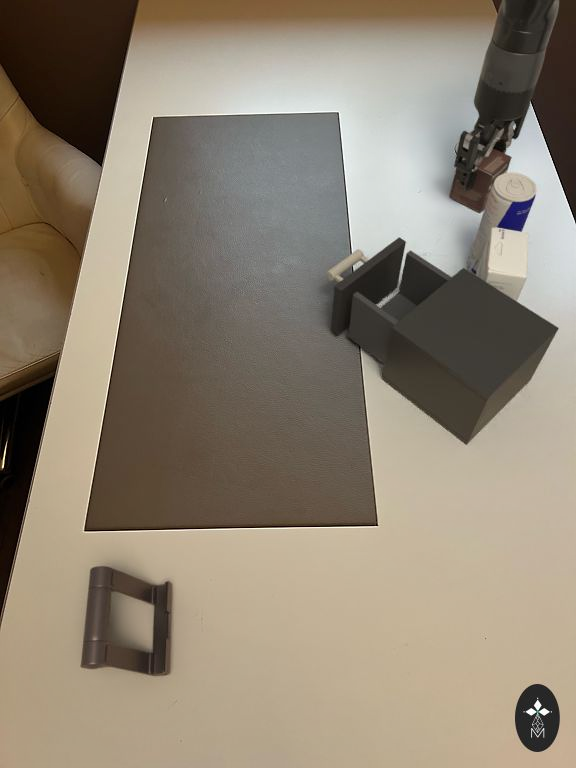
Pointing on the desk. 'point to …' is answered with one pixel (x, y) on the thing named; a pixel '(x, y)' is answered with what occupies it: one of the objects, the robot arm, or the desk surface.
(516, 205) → the beverage can
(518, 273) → the ink box
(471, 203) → the box
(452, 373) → the cabinet
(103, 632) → the tablet stand
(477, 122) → the robot arm
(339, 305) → the drawer
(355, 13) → the desk surface
